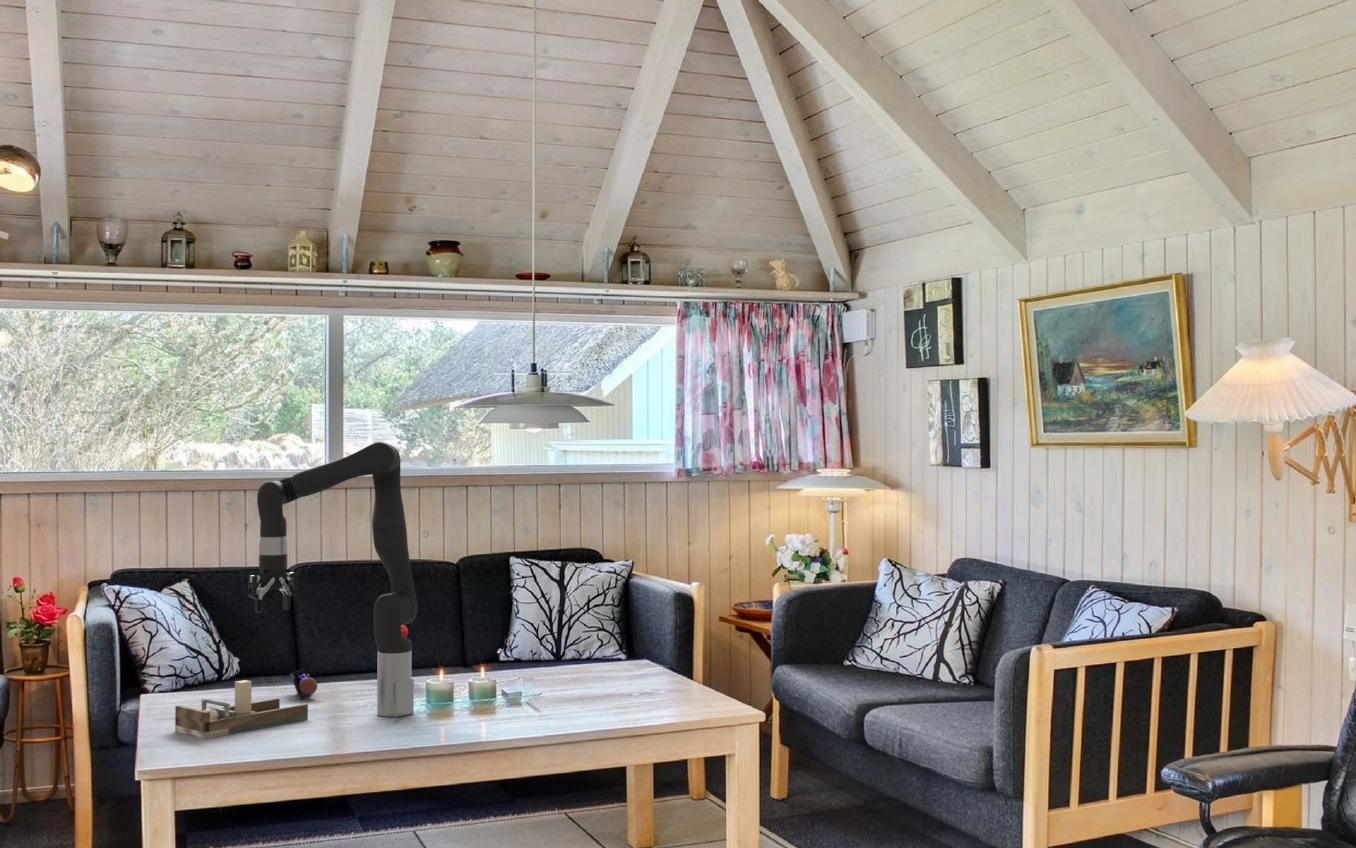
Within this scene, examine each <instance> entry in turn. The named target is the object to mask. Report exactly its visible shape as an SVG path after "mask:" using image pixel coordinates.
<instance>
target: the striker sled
mask: <svg viewBox="0 0 1356 848" xmlns="http://www.w3.org/2000/svg"><path fill="white" fill-rule="evenodd" d="M251 703H252V680H247V679H244V680H237V681H236V680H235V681H234V706H235V711H231V710H229V717H235V716H240V715H246V714H252V713H256V712H254V711H251ZM208 708H212V709H214V710H216V711H217V713H218V719H224V709H222V708H223V707H217V706H208Z"/></svg>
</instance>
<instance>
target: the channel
mask: <svg viewBox="0 0 1356 848" xmlns="http://www.w3.org/2000/svg"><path fill="white" fill-rule="evenodd" d="M208 704H210V705H215V706H216V705H217V706H220V707H221V708H222V709H224V719H218V720H213V721H210V712H207V711H204V710H205V709H208ZM280 705H281V703H280V698H278V697H276V698H271V699H265V700H259V701H254V702H252V701H251V711H254V712H256V713H252V714H246V715H240V716H235V717H229V710H231V711H235V705H231V704H230V703H226V702H221V701H218V700H213V699H207V698H202V699H201V709H199V708H193V707H190V706H184V705H179V704H178V705H175V707H174V708H175V712H174V713H175V714H174V715H175V717H174V718H175V723H174V724H175V725H174V726H175V727H174V728H175V729H174V732H177V733H180V734H181V733H182V734H185V735H188V736H191V737H197V738H199V739H200V738H201V739H207V740H208V739H211V738H216V737H221V736H228V735H232V734H238V733H243V732H248V731H253V730H259V729H265V728H269V727H275V726H280V725H284V724H289V723H290V724H291V723H295V722H300V721H306V720H309V719H308V718H309V713H308V712H309V709H308V708H309V705H308V704H307V703H302V704H298V705H292V706H287V707H280Z"/></svg>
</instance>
